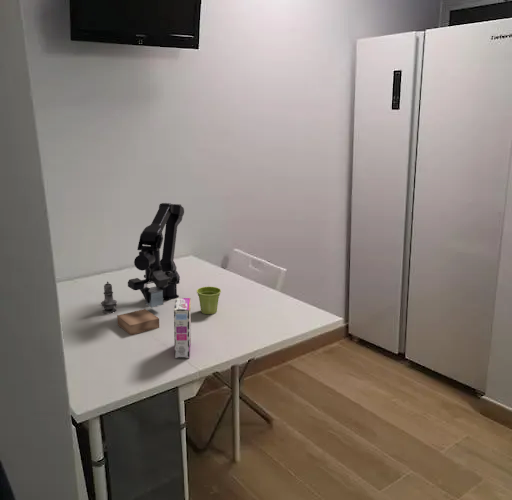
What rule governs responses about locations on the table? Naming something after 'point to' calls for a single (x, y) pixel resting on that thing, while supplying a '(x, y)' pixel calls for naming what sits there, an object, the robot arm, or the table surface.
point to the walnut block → (138, 321)
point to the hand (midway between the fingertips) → (154, 301)
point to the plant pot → (208, 299)
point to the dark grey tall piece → (108, 299)
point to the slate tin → (155, 297)
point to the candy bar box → (182, 327)
